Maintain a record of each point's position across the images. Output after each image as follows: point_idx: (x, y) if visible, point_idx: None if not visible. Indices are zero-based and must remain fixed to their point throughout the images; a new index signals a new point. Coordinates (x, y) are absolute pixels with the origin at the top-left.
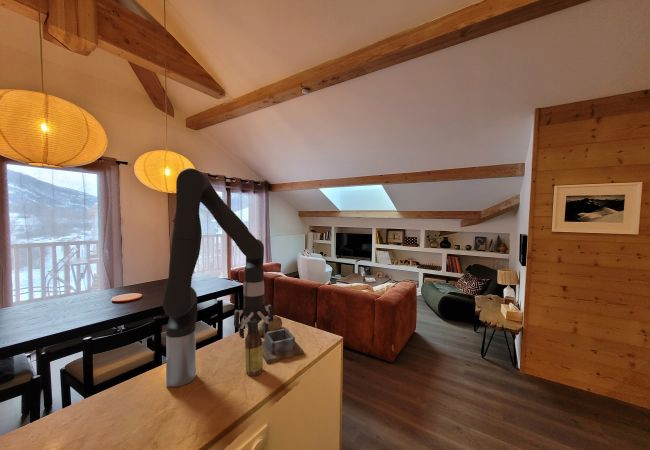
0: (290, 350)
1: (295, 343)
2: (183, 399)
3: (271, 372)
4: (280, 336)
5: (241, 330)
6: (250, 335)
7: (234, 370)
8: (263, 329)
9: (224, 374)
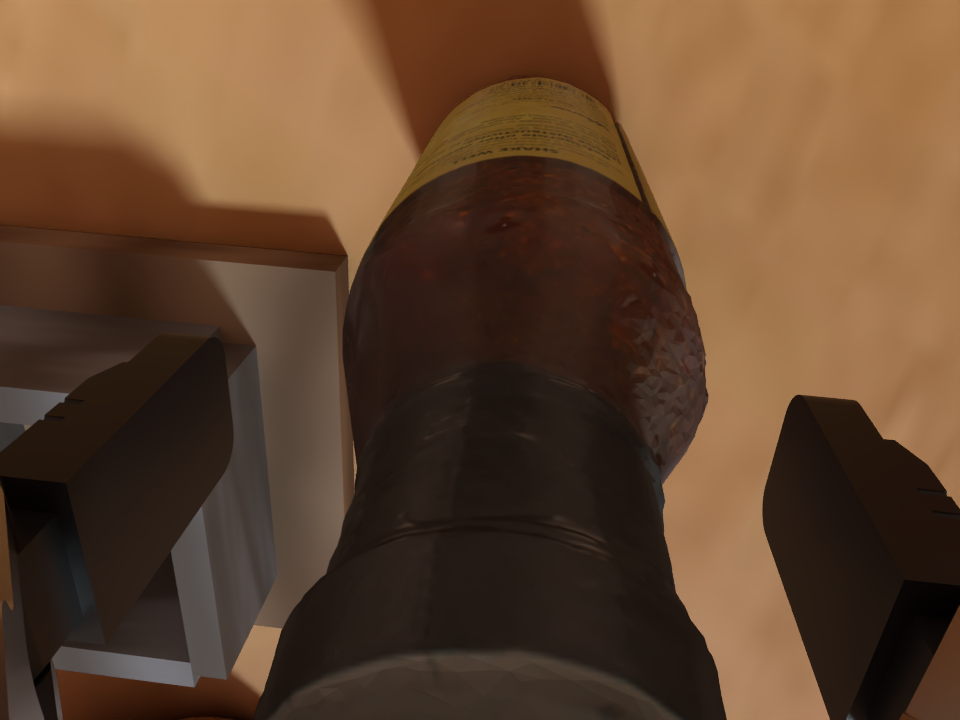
0: (18, 307)
1: None
2: None
3: (350, 45)
4: None
5: (951, 568)
6: (626, 375)
7: (713, 329)
8: (209, 486)
9: (836, 316)
